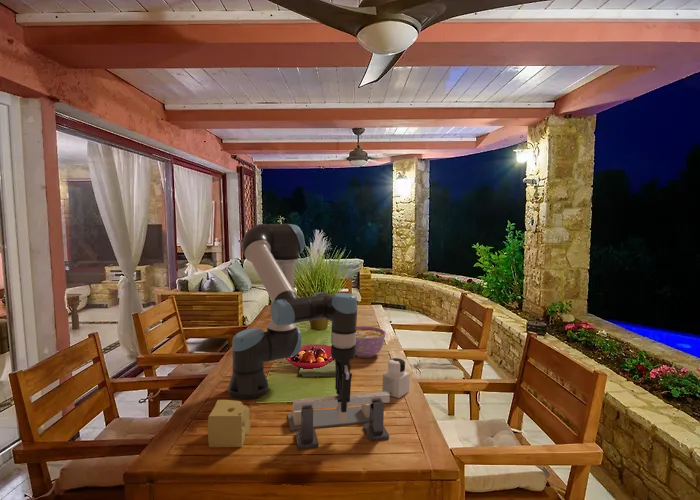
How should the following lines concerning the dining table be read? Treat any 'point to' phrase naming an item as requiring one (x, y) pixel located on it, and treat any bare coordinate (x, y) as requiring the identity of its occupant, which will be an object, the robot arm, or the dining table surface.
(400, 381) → the container
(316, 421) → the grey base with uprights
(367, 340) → the bowl of food
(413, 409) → the dining table surface
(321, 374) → the washcloth
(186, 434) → the dining table surface
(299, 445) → the grey rack
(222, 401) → the cheese
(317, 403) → the rail
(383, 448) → the dining table surface
